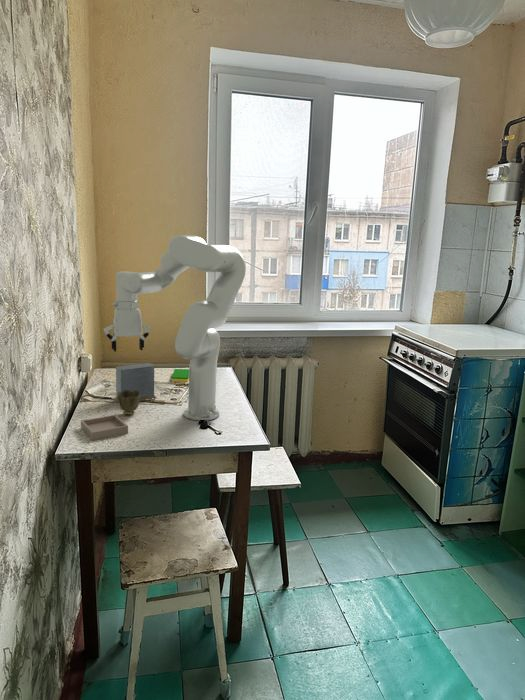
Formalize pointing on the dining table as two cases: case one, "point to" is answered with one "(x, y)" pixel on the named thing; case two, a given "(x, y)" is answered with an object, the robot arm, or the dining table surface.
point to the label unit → (136, 380)
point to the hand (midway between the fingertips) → (128, 350)
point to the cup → (128, 401)
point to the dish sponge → (180, 375)
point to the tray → (104, 427)
